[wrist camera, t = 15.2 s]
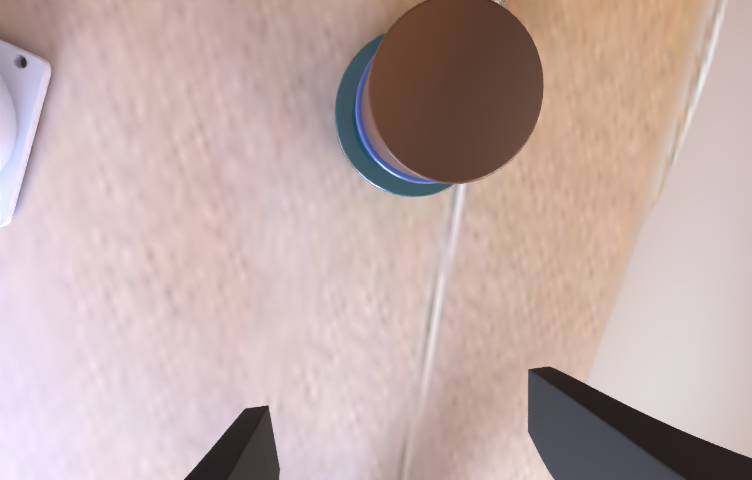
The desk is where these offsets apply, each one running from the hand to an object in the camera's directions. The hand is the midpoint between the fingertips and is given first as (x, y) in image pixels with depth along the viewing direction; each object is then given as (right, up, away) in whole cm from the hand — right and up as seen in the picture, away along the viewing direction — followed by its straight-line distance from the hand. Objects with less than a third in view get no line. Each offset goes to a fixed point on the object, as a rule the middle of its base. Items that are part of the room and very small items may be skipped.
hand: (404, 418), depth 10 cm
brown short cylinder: (+1, +9, +2) cm, 10 cm away
